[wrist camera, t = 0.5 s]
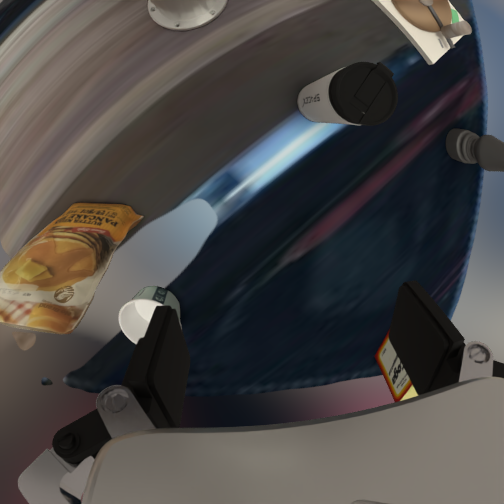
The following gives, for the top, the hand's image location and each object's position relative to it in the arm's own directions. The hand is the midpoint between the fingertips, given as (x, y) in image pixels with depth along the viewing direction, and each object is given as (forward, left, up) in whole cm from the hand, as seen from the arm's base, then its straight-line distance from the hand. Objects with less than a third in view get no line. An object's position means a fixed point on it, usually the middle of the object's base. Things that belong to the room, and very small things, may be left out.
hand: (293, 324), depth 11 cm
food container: (+3, -32, -36) cm, 48 cm away
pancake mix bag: (-15, -24, -36) cm, 45 cm away
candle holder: (+22, +31, -36) cm, 53 cm away
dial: (-1, +44, -34) cm, 56 cm away
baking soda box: (+50, -6, -36) cm, 62 cm away
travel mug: (-1, +14, -36) cm, 39 cm away
